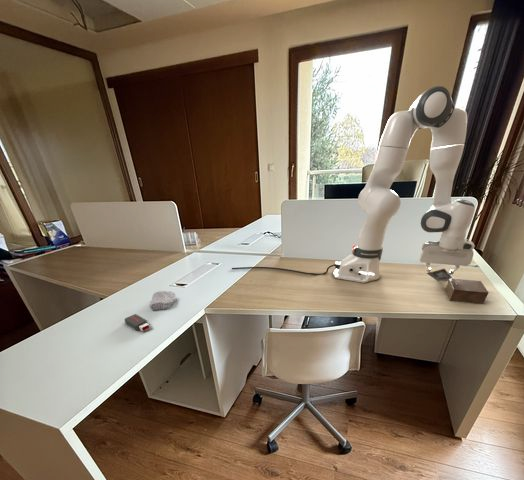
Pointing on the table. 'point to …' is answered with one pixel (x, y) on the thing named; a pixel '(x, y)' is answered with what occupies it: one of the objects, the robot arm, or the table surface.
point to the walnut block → (466, 291)
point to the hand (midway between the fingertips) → (439, 273)
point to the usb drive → (137, 323)
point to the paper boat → (440, 275)
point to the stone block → (162, 300)
